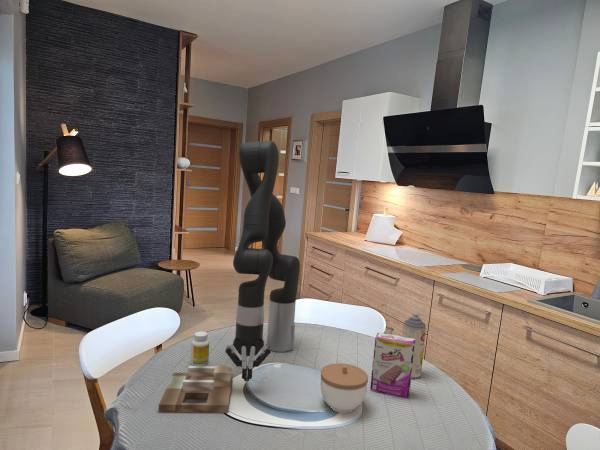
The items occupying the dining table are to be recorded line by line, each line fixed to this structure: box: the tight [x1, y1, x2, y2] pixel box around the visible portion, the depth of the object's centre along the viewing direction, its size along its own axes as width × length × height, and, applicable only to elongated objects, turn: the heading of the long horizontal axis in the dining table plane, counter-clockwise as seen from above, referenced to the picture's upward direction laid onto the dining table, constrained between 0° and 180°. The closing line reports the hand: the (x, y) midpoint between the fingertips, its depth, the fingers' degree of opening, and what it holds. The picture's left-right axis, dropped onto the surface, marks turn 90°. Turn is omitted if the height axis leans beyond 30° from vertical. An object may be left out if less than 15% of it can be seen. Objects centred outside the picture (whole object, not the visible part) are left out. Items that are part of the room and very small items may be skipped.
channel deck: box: [158, 365, 234, 414], centre depth 111 cm, size 17×17×4 cm
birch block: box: [214, 364, 233, 387], centre depth 115 cm, size 4×4×4 cm
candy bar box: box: [369, 331, 416, 399], centre depth 120 cm, size 11×5×16 cm, turn 71°
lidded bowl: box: [320, 362, 369, 414], centre depth 110 cm, size 13×13×11 cm
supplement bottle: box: [190, 331, 210, 366], centre depth 130 cm, size 5×5×10 cm
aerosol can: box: [402, 312, 427, 380], centre depth 131 cm, size 7×7×20 cm
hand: (246, 379), depth 116 cm, fingers closed
